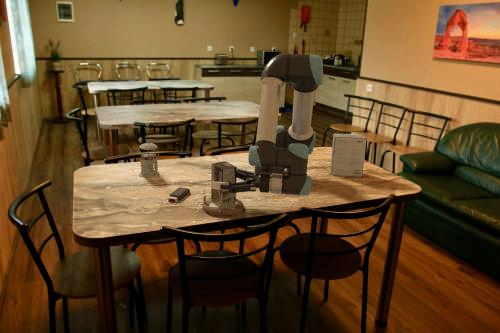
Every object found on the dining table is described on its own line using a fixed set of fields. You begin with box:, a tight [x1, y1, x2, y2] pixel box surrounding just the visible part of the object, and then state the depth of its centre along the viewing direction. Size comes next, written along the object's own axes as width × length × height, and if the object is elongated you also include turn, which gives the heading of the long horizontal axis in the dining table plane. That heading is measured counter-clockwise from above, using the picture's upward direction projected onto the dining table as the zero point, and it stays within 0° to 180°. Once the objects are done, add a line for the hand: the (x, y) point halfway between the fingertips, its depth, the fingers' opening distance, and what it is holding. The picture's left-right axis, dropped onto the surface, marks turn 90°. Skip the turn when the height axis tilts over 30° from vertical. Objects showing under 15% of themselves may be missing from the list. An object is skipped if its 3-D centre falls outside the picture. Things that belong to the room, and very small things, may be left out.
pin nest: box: [202, 195, 244, 218], centre depth 159 cm, size 16×16×4 cm
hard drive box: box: [329, 133, 368, 178], centre depth 202 cm, size 16×8×20 cm, turn 84°
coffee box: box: [210, 161, 238, 209], centre depth 157 cm, size 9×6×16 cm
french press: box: [138, 122, 161, 179], centre depth 190 cm, size 10×12×25 cm
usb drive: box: [167, 186, 191, 204], centre depth 169 cm, size 5×12×3 cm, turn 164°
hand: (215, 178), depth 156 cm, fingers open, 13 cm apart
